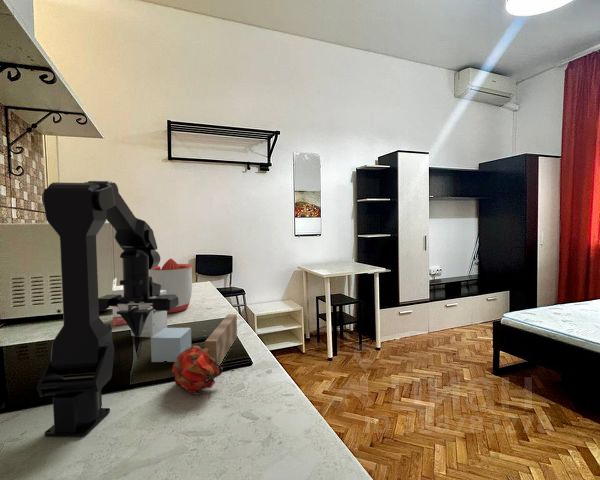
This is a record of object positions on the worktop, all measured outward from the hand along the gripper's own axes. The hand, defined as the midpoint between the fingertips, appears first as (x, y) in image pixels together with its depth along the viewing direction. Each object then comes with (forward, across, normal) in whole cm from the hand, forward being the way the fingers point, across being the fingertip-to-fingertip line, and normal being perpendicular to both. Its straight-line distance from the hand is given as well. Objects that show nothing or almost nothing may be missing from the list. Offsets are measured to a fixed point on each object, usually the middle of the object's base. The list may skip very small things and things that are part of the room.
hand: (138, 336), depth 75 cm
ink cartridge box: (+5, +20, -27) cm, 34 cm away
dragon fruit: (+5, -20, +14) cm, 25 cm away
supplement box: (+5, +6, -16) cm, 18 cm away
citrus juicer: (+5, +10, -42) cm, 44 cm away
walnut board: (+5, -21, -2) cm, 22 cm away
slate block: (+5, -8, 0) cm, 10 cm away
